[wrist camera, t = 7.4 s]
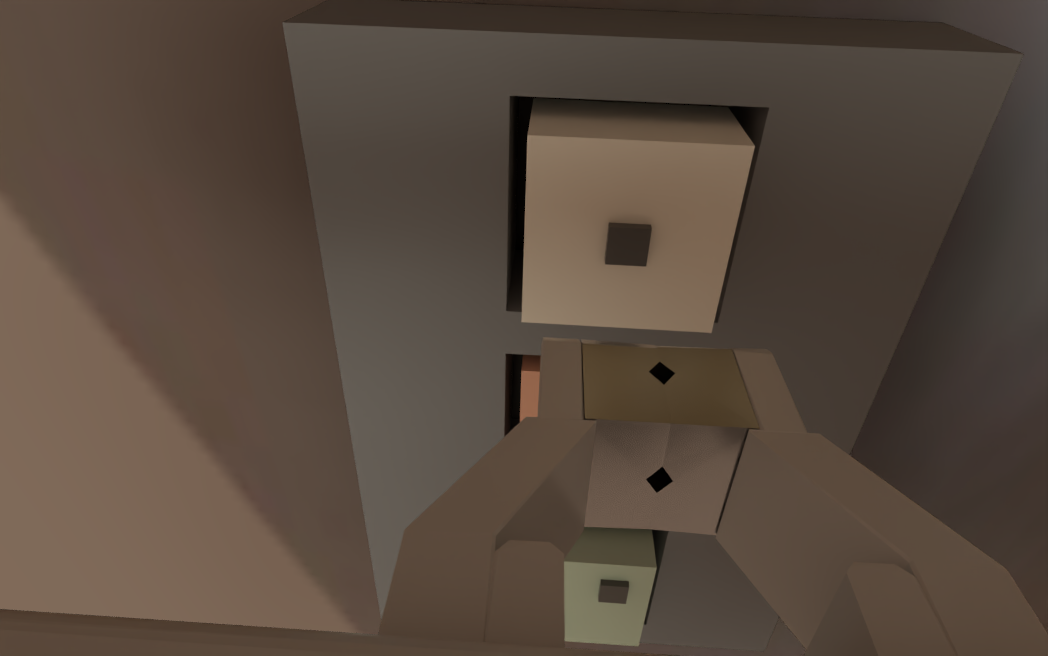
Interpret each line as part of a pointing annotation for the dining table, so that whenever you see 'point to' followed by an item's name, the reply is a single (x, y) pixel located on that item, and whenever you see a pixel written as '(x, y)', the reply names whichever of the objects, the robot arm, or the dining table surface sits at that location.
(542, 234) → the button one
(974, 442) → the dining table surface
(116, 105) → the dining table surface
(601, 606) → the button two
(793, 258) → the button panel
